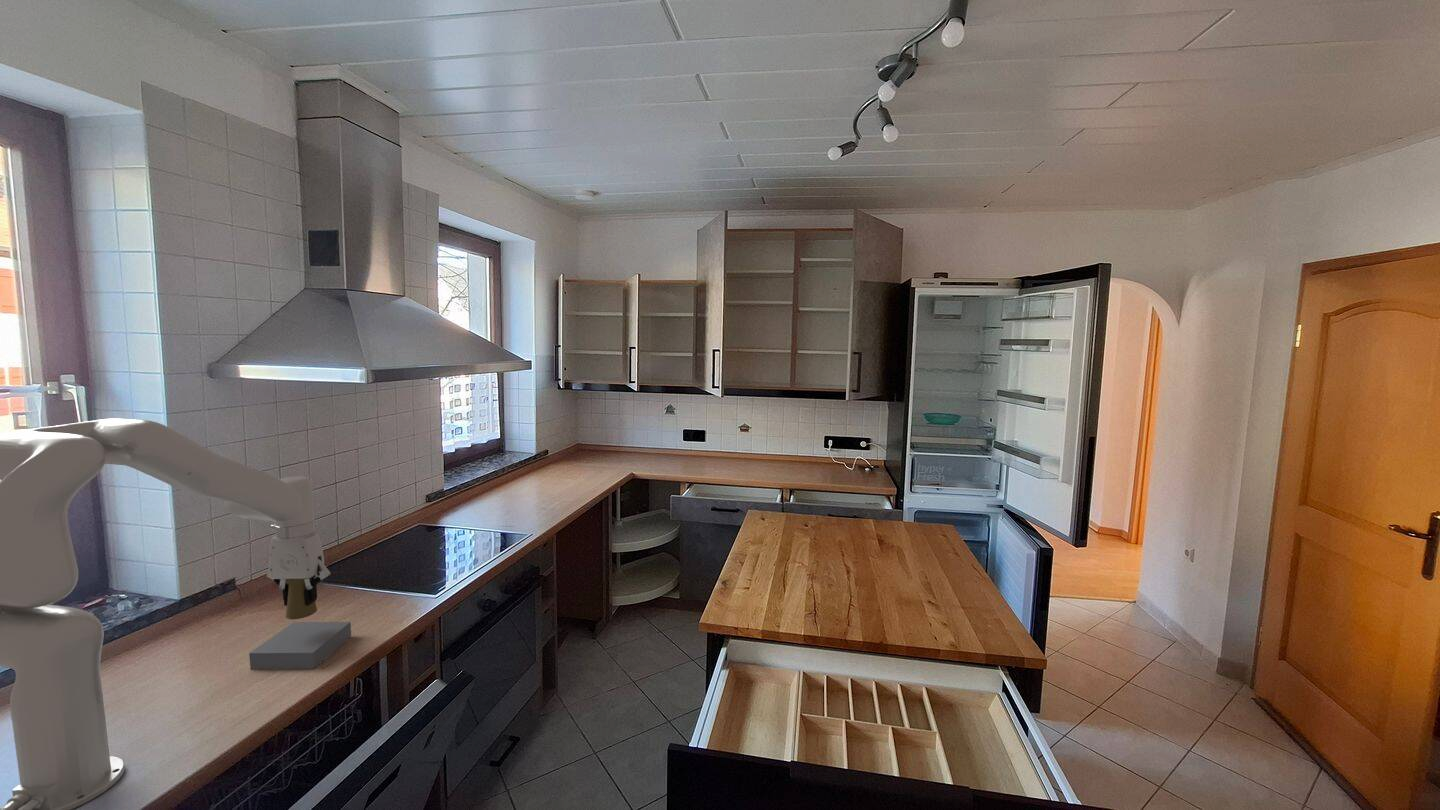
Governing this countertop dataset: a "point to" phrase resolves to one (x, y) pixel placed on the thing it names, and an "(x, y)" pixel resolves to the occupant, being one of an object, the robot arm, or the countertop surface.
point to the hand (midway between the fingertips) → (300, 602)
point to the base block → (300, 645)
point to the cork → (298, 600)
